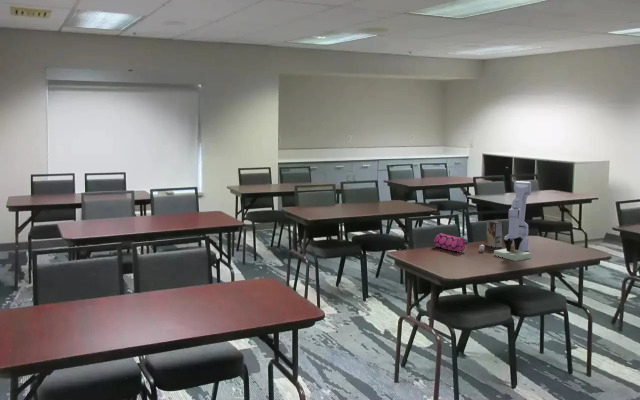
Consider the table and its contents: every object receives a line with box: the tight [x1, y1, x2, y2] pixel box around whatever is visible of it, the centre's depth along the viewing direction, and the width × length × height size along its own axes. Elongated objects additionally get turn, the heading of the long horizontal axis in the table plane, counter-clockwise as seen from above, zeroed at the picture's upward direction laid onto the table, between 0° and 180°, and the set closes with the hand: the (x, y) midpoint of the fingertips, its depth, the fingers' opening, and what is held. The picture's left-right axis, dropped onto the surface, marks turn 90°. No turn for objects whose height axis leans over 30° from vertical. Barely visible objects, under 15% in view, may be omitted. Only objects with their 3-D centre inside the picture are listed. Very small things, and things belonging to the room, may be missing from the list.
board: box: [493, 248, 532, 261], centre depth 343 cm, size 14×16×3 cm
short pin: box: [478, 244, 486, 252], centre depth 356 cm, size 3×3×4 cm
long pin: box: [510, 244, 515, 253], centre depth 343 cm, size 3×3×7 cm
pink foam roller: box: [433, 232, 468, 253], centre depth 360 cm, size 21×10×10 cm, turn 36°
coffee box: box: [485, 220, 504, 248], centre depth 372 cm, size 9×6×16 cm
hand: (512, 250), depth 343 cm, fingers open, 7 cm apart
